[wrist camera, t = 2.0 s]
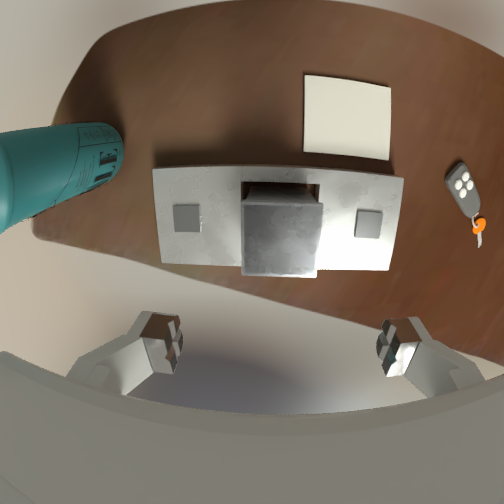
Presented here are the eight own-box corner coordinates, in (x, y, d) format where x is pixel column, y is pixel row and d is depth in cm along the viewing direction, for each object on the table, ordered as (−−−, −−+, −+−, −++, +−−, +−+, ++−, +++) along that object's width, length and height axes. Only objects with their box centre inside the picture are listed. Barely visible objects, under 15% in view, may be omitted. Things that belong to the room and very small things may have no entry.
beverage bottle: (85, 122, 22) (-86, 154, 4) (137, 119, 22) (-61, 139, 4) (83, 181, 25) (-72, 260, 6) (133, 185, 25) (-39, 286, 6)
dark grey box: (309, 185, 24) (323, 204, 17) (305, 241, 26) (316, 277, 20) (249, 183, 24) (241, 201, 18) (249, 239, 26) (241, 275, 20)
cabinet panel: (394, 174, 22) (405, 178, 20) (381, 261, 26) (389, 271, 24) (160, 166, 24) (151, 169, 22) (168, 254, 27) (160, 264, 25)
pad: (389, 88, 19) (390, 88, 19) (386, 159, 22) (388, 160, 22) (304, 76, 20) (304, 75, 19) (303, 151, 22) (303, 151, 22)
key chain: (439, 180, 23) (446, 182, 21) (458, 159, 21) (466, 161, 20) (478, 259, 26) (484, 264, 24) (494, 240, 24) (501, 245, 23)
